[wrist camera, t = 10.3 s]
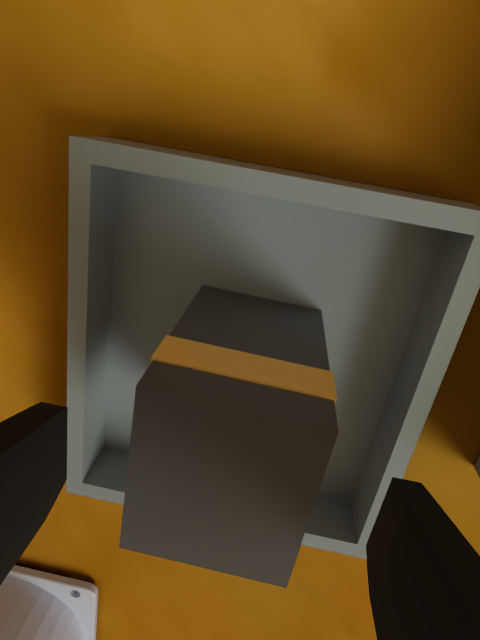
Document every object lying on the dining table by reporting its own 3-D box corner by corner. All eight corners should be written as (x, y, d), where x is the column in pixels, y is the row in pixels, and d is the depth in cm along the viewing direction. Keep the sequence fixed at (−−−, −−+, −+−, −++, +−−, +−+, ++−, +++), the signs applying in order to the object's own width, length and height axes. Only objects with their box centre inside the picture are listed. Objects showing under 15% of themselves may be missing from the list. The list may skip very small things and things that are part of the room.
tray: (91, 448, 18) (63, 491, 16) (103, 135, 13) (65, 134, 11) (360, 507, 18) (369, 560, 15) (472, 203, 13) (508, 215, 11)
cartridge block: (183, 398, 16) (117, 548, 10) (201, 283, 14) (133, 382, 8) (291, 423, 16) (287, 589, 10) (323, 309, 14) (342, 429, 8)
